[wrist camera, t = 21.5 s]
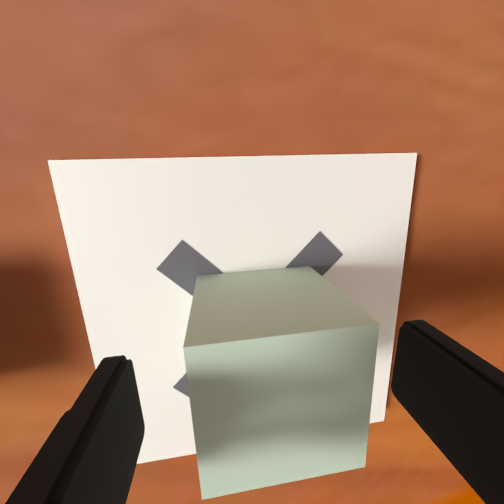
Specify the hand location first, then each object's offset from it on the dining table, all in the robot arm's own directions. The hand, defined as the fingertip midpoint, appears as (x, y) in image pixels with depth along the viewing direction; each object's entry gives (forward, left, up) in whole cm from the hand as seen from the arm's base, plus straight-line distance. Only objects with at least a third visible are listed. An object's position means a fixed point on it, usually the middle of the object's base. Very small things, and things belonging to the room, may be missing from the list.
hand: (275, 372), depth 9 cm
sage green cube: (0, 0, -4) cm, 4 cm away
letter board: (+1, 0, -5) cm, 5 cm away
